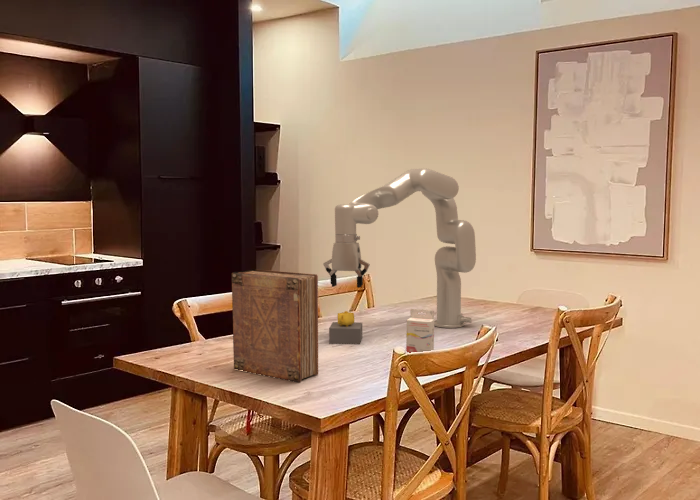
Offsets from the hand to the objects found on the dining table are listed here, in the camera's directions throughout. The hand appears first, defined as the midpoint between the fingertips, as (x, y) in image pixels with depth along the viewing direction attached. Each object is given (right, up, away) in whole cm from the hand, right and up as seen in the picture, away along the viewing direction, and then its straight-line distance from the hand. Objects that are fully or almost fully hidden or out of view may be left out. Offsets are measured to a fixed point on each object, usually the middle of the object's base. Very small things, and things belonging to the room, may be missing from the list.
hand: (346, 286), depth 246 cm
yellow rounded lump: (-1, -14, +2) cm, 14 cm away
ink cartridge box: (+24, -22, -18) cm, 37 cm away
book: (-21, -24, -41) cm, 52 cm away
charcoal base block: (0, -20, +2) cm, 20 cm away
